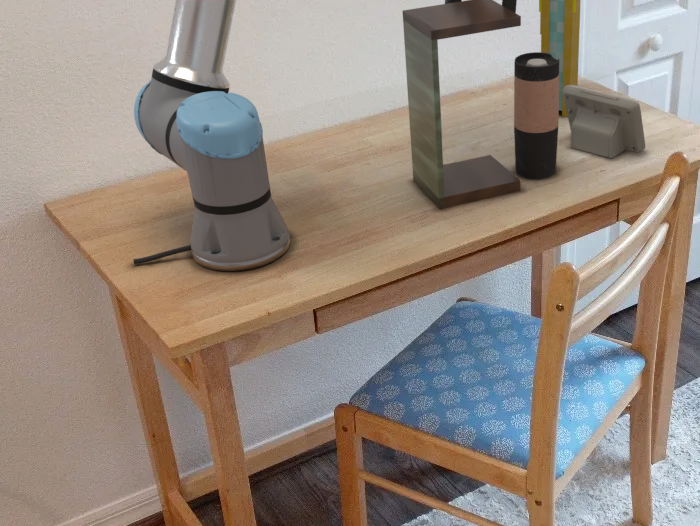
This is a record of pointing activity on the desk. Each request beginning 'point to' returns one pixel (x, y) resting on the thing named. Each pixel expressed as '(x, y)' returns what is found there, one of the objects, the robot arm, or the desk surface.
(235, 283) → the desk surface
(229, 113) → the robot arm
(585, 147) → the digital clock
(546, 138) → the travel mug
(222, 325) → the desk surface
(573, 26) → the book
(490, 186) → the shelf
